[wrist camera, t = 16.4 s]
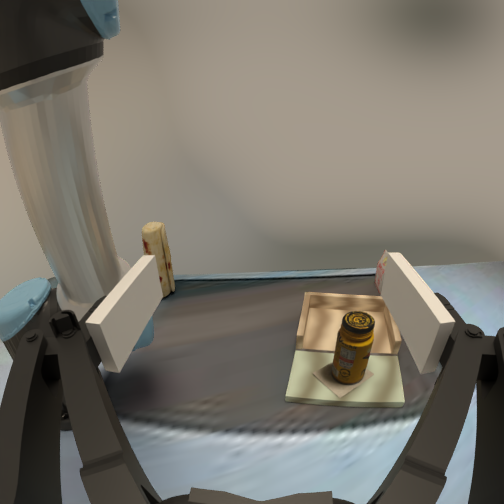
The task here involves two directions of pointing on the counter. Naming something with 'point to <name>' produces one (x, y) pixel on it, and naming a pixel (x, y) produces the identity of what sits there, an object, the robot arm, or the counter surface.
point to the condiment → (350, 354)
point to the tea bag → (381, 271)
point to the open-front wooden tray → (323, 347)
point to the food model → (159, 253)
